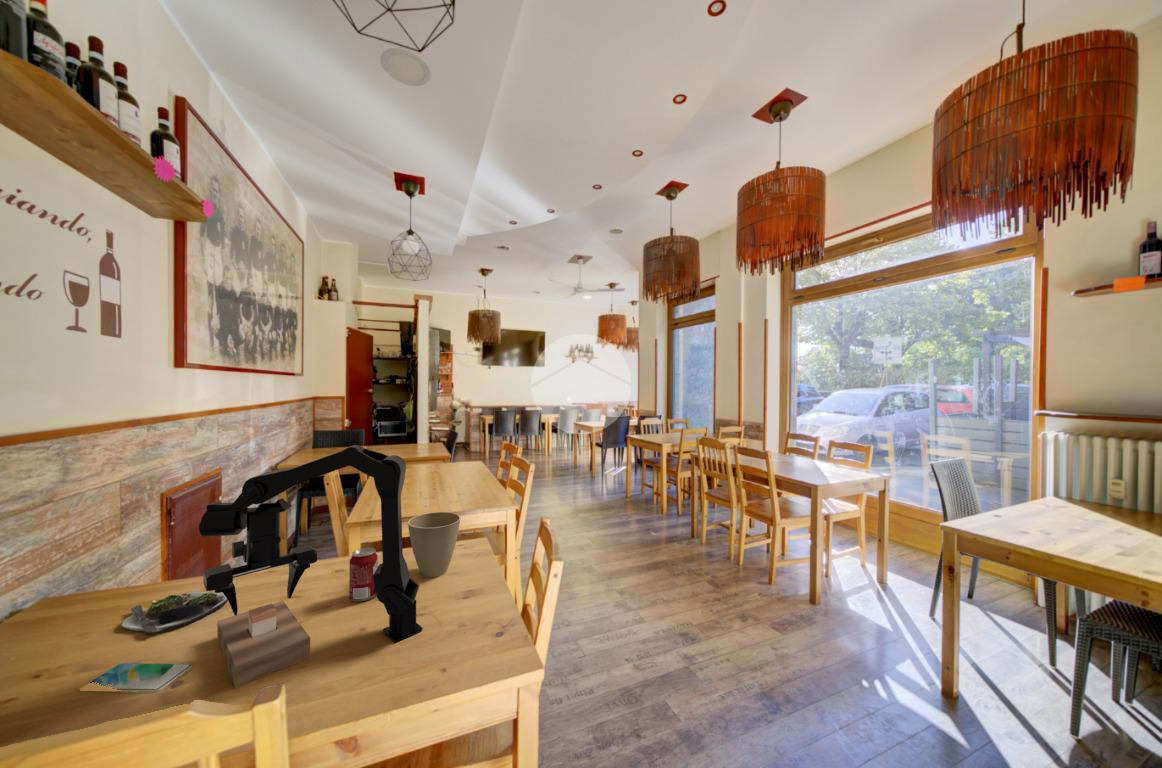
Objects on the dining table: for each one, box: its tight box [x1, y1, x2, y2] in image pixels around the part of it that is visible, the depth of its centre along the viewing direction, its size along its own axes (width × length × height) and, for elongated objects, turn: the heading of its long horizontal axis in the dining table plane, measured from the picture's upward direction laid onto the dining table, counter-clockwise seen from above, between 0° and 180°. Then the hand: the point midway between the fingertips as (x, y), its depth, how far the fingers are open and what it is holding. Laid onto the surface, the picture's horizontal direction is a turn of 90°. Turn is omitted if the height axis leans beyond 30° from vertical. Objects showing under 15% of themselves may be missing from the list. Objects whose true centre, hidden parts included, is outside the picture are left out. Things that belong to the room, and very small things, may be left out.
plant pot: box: [407, 511, 461, 578], centre depth 125 cm, size 15×15×16 cm
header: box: [216, 600, 311, 689], centre depth 89 cm, size 22×12×4 cm, turn 48°
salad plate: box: [121, 591, 229, 634], centre depth 101 cm, size 19×18×5 cm
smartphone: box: [89, 662, 193, 693], centre depth 79 cm, size 7×1×15 cm
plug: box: [247, 603, 277, 638], centre depth 89 cm, size 4×4×8 cm
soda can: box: [348, 547, 379, 602], centre depth 110 cm, size 7×7×12 cm
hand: (263, 605), depth 89 cm, fingers open, 9 cm apart
